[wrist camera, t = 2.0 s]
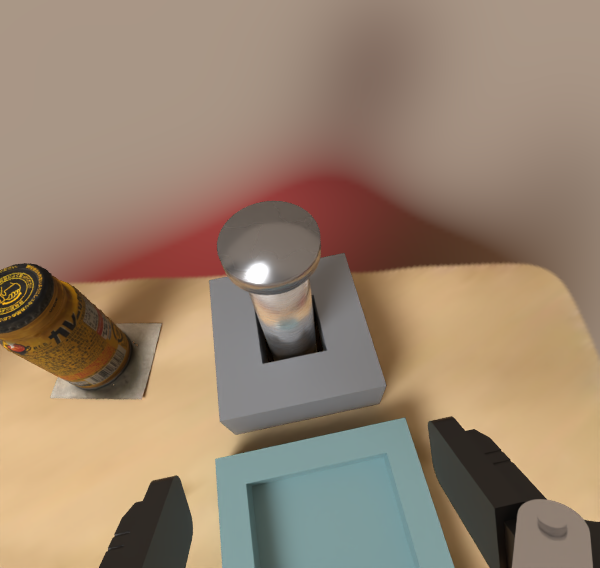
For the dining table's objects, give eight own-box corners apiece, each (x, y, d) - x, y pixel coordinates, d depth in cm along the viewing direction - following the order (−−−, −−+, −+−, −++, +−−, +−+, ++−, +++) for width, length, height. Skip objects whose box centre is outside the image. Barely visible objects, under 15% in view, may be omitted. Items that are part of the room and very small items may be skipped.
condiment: (79, 324, 38) (-16, 251, 27) (162, 324, 37) (96, 249, 27) (51, 398, 34) (-71, 346, 24) (143, 400, 33) (58, 347, 23)
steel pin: (268, 388, 33) (221, 293, 19) (260, 330, 36) (213, 211, 22) (332, 374, 33) (330, 270, 19) (318, 318, 36) (308, 192, 22)
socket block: (235, 434, 31) (219, 421, 27) (223, 307, 37) (209, 280, 33) (379, 403, 31) (386, 385, 27) (343, 283, 38) (344, 253, 33)
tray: (245, 720, 22) (234, 746, 20) (225, 464, 30) (215, 458, 27) (474, 665, 23) (492, 682, 20) (399, 426, 30) (405, 417, 28)
